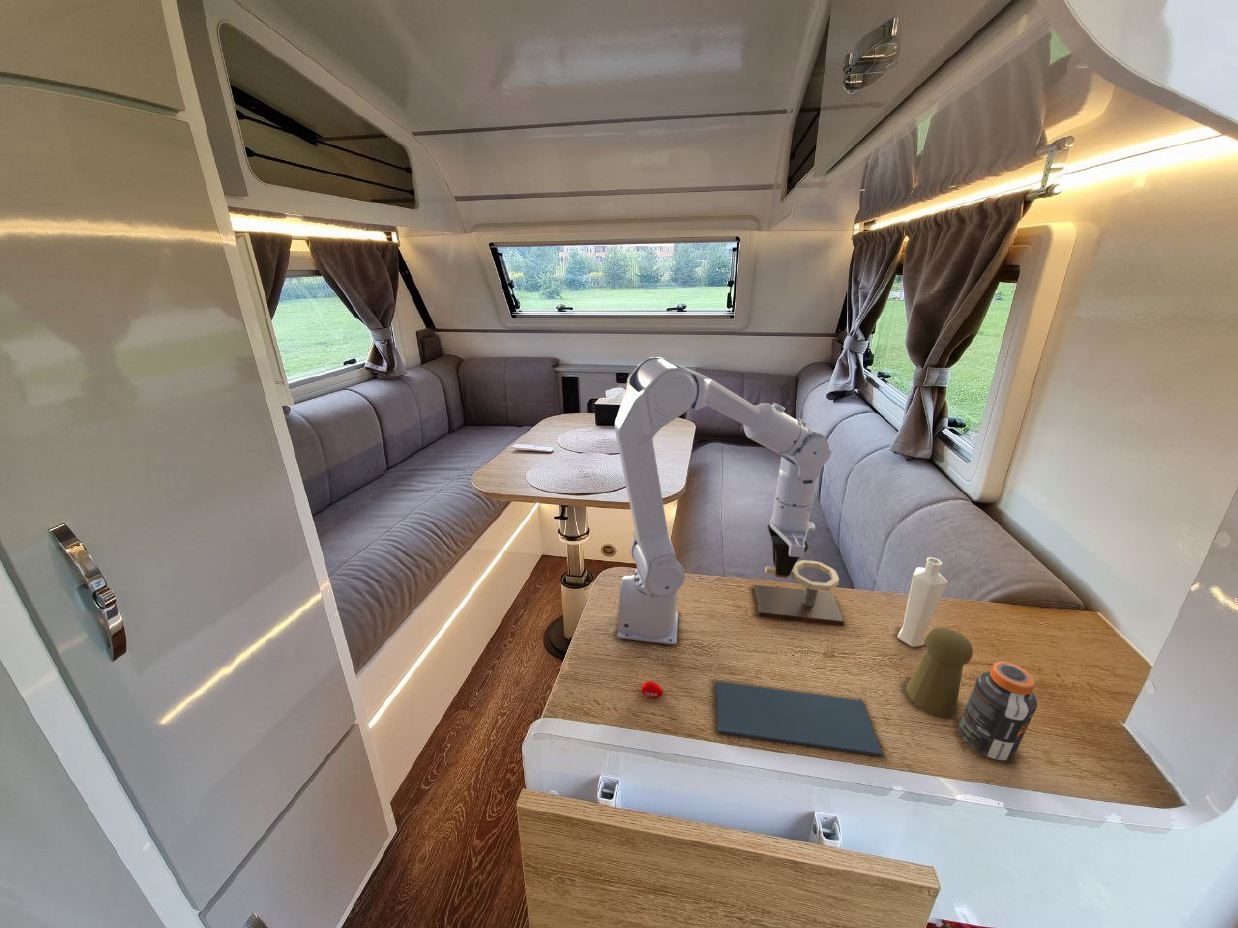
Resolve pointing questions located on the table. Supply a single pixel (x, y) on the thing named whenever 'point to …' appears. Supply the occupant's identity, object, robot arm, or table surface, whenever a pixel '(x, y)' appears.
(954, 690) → the pepper shaker
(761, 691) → the mat
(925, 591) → the perfume bottle
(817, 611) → the peg stand
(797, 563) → the octagonal ring with handle
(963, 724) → the pill bottle
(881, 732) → the table surface
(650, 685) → the candy
